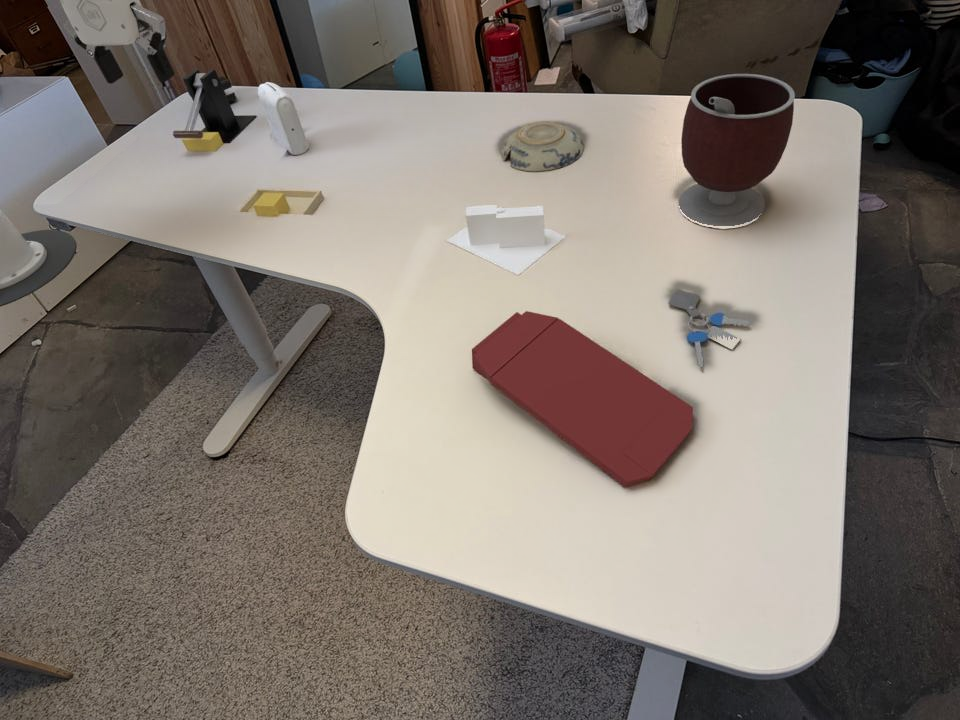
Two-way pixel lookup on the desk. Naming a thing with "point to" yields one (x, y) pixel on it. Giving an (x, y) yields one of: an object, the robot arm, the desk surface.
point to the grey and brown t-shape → (193, 112)
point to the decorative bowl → (542, 147)
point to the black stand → (217, 107)
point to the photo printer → (282, 118)
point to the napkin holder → (506, 235)
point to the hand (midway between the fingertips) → (141, 79)
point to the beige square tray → (289, 200)
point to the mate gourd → (733, 145)
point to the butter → (204, 142)
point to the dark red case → (585, 395)
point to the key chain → (718, 319)
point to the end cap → (226, 85)
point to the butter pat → (271, 204)
